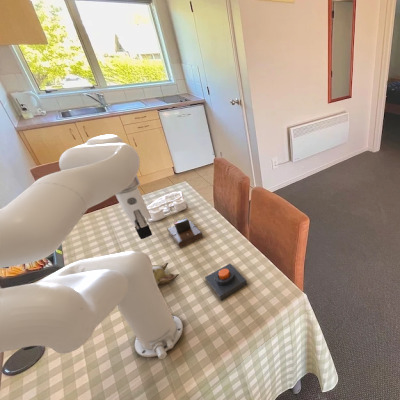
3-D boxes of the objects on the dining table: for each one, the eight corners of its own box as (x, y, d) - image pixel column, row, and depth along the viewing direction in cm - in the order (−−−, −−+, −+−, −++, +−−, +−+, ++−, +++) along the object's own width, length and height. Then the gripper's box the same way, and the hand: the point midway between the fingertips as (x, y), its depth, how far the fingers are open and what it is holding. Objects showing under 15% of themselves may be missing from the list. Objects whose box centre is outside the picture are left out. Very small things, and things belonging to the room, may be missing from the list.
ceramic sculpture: (117, 271, 90) (163, 250, 100) (125, 289, 94) (168, 267, 105) (128, 287, 84) (176, 263, 95) (137, 305, 88) (181, 280, 99)
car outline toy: (152, 225, 128) (146, 212, 124) (144, 216, 135) (139, 204, 131) (192, 208, 141) (188, 196, 137) (183, 201, 147) (179, 190, 143)
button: (231, 275, 95) (230, 272, 94) (222, 281, 93) (221, 277, 92) (226, 270, 97) (226, 267, 96) (217, 275, 95) (216, 272, 94)
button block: (247, 284, 96) (245, 276, 94) (221, 300, 90) (218, 292, 88) (231, 267, 103) (229, 259, 101) (206, 281, 97) (203, 273, 95)
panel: (203, 237, 120) (201, 232, 118) (180, 248, 114) (178, 242, 112) (191, 224, 128) (189, 219, 127) (169, 233, 122) (167, 228, 121)
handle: (189, 226, 122) (186, 217, 119) (191, 228, 120) (188, 219, 118) (177, 232, 118) (173, 222, 116) (178, 233, 117) (175, 224, 114)
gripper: (145, 186, 69) (167, 241, 78) (131, 170, 78) (152, 221, 87) (111, 197, 64) (138, 254, 74) (100, 178, 74) (126, 231, 83)
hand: (146, 236), depth 81 cm, fingers closed
